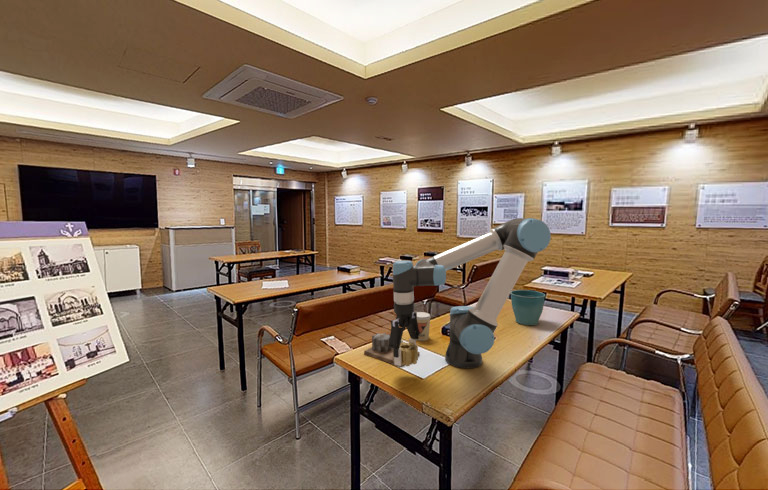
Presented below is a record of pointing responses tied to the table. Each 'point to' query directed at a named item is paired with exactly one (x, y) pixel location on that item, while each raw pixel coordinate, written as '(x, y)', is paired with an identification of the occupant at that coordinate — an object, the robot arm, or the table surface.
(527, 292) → the flower pot
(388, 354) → the gear board
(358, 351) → the table surface
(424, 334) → the coffee cup
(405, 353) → the brass gear
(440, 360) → the table surface
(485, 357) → the table surface
